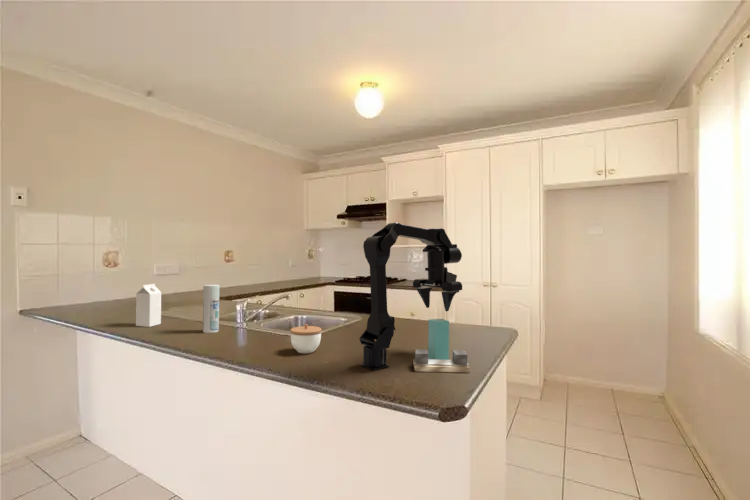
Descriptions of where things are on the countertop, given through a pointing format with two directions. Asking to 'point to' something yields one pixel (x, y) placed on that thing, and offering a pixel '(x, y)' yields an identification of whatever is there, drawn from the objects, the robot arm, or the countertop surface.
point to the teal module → (438, 339)
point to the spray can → (211, 308)
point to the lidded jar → (305, 338)
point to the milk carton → (148, 306)
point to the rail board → (441, 362)
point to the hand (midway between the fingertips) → (437, 309)
